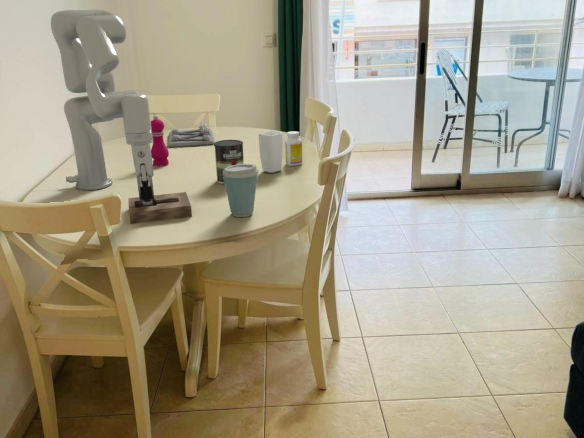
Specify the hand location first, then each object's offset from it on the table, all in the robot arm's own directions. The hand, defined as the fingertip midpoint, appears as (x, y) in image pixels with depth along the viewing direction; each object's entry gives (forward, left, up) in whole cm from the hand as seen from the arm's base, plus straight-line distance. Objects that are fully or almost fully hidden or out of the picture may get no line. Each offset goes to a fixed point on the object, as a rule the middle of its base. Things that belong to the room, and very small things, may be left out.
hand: (146, 195), depth 164 cm
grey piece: (+25, +101, -7) cm, 104 cm away
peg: (0, 0, -5) cm, 5 cm away
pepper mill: (+7, +59, -6) cm, 60 cm away
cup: (+47, +32, -6) cm, 57 cm away
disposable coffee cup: (+27, -10, -6) cm, 30 cm away
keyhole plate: (+3, 0, -6) cm, 7 cm away
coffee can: (+30, +26, -6) cm, 40 cm away
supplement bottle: (+58, +39, -6) cm, 70 cm away
